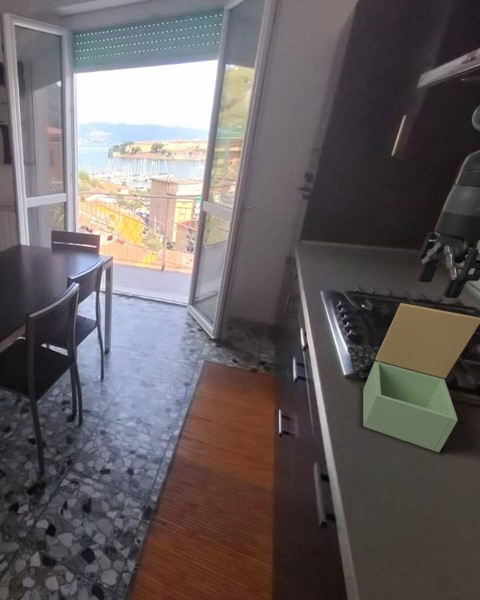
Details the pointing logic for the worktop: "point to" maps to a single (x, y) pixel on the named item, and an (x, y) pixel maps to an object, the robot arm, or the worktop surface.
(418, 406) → the bin
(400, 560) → the worktop surface
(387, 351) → the bin lid
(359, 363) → the fruit
